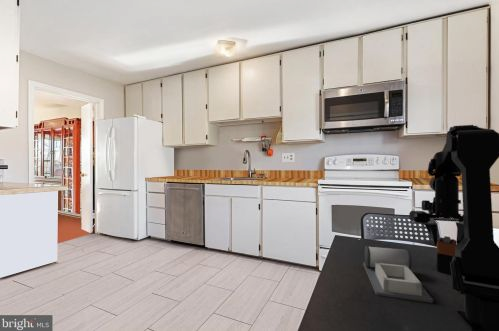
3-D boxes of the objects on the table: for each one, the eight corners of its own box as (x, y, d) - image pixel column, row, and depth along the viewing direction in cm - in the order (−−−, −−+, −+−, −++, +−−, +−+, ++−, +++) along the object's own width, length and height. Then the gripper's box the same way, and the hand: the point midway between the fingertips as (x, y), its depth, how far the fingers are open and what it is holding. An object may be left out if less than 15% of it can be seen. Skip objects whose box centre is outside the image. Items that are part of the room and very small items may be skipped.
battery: (436, 271, 75) (436, 238, 75) (438, 265, 80) (438, 234, 80) (455, 276, 72) (455, 241, 72) (456, 268, 77) (456, 236, 77)
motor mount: (433, 303, 58) (433, 273, 58) (376, 296, 61) (376, 267, 61) (405, 269, 77) (405, 246, 77) (363, 264, 80) (363, 243, 80)
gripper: (468, 193, 81) (468, 241, 81) (403, 191, 87) (403, 236, 87) (490, 197, 71) (490, 252, 71) (415, 195, 76) (415, 246, 76)
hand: (446, 246), depth 76 cm, fingers open, 6 cm apart
